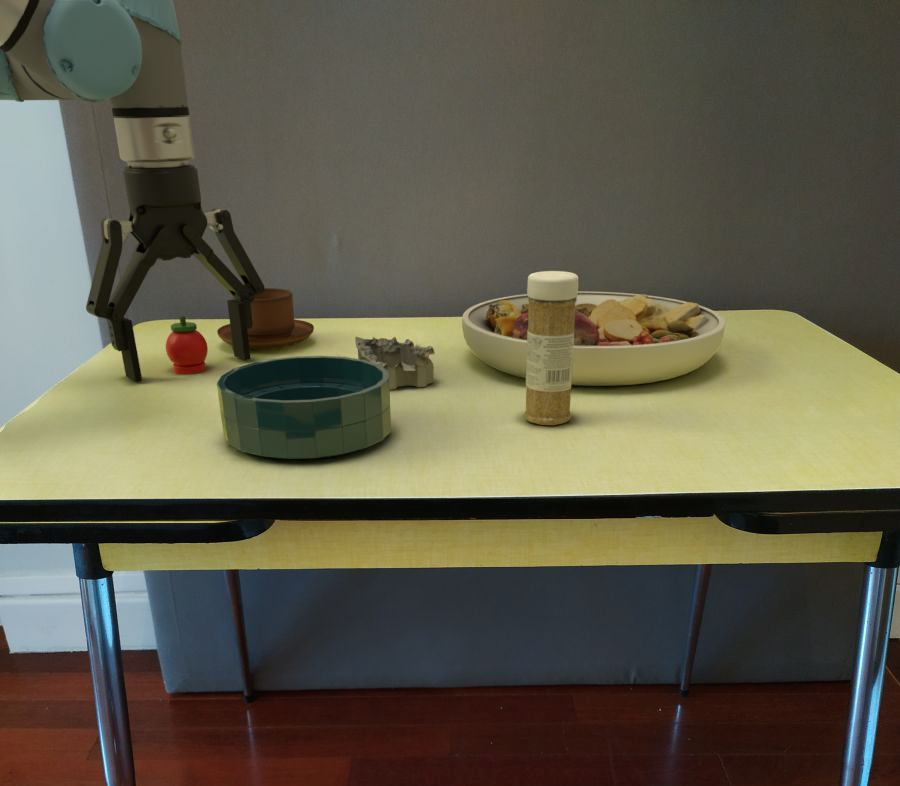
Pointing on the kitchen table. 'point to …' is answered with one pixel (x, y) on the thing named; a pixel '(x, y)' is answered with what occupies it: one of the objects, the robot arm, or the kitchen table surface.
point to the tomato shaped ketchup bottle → (186, 348)
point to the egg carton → (399, 360)
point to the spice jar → (550, 346)
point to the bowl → (603, 337)
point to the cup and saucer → (272, 322)
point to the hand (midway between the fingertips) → (190, 368)
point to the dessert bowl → (305, 406)
